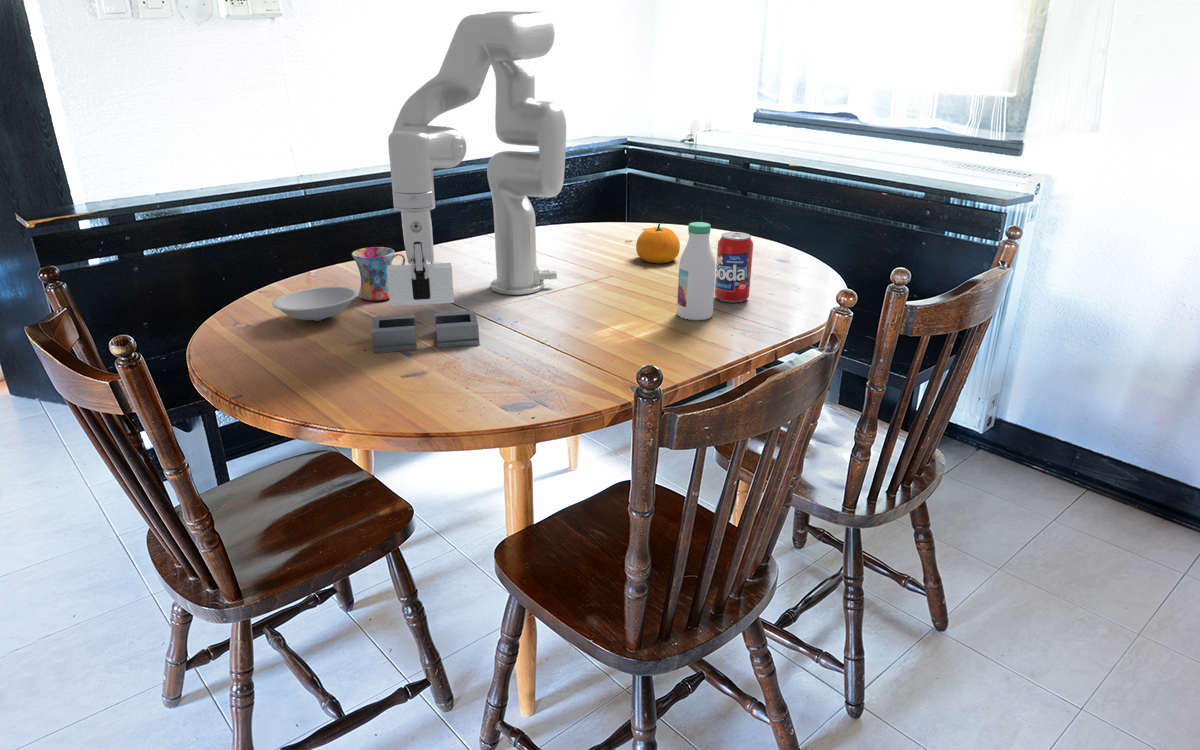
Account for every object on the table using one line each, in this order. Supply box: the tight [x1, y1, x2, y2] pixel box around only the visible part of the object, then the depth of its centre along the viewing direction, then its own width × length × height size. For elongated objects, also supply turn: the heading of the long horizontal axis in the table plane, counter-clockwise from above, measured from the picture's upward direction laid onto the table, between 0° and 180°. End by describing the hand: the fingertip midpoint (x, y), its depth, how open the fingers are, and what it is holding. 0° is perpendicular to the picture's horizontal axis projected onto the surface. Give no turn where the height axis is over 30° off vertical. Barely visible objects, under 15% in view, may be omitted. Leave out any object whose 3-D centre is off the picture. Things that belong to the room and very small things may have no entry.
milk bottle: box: [676, 221, 716, 321], centre depth 168 cm, size 8×8×20 cm
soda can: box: [714, 231, 754, 304], centre depth 179 cm, size 8×8×15 cm
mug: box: [351, 246, 406, 301], centre depth 181 cm, size 12×9×11 cm
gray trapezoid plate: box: [387, 262, 455, 307], centre depth 153 cm, size 12×4×7 cm, turn 103°
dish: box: [271, 285, 359, 322], centre depth 167 cm, size 18×14×5 cm
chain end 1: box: [371, 314, 418, 354], centre depth 155 cm, size 8×10×4 cm
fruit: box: [635, 223, 681, 264], centre depth 211 cm, size 12×12×10 cm
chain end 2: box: [434, 310, 481, 349], centre depth 158 cm, size 8×10×4 cm
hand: (421, 294), depth 153 cm, fingers closed on gray trapezoid plate, 3 cm apart
